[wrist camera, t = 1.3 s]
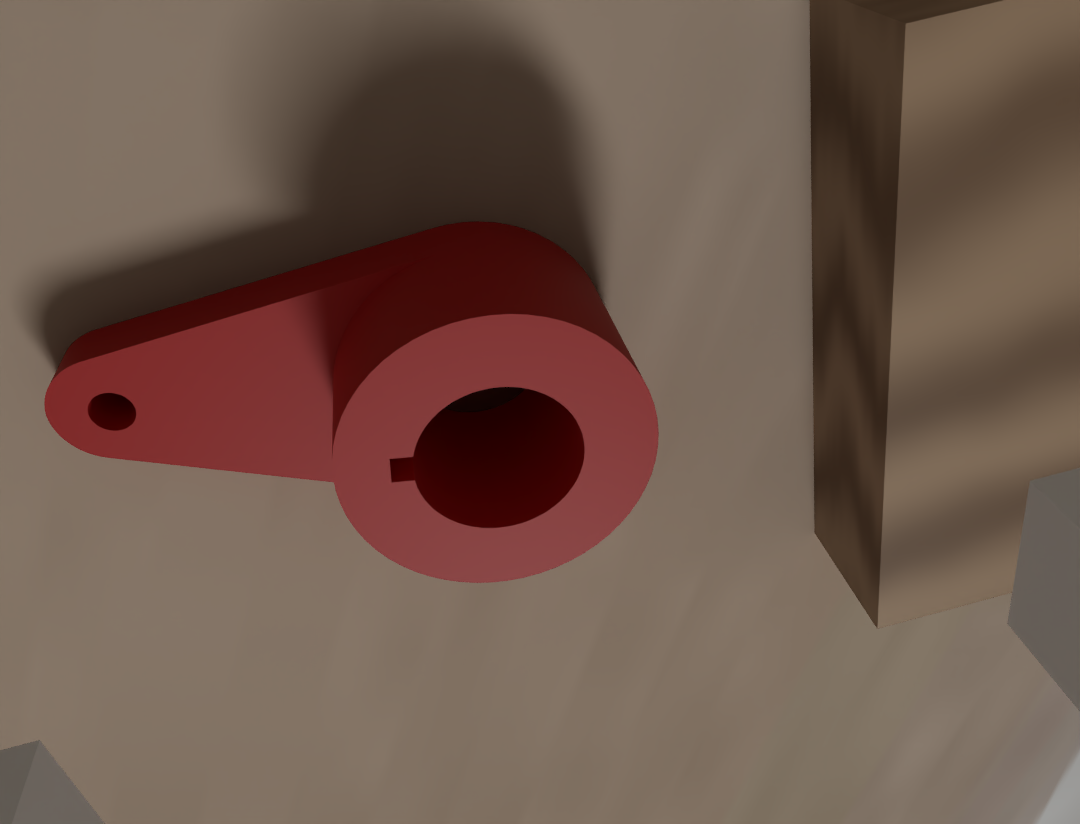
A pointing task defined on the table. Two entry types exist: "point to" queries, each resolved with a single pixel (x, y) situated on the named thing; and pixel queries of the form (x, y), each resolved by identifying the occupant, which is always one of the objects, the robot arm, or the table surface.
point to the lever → (393, 396)
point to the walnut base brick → (941, 288)
